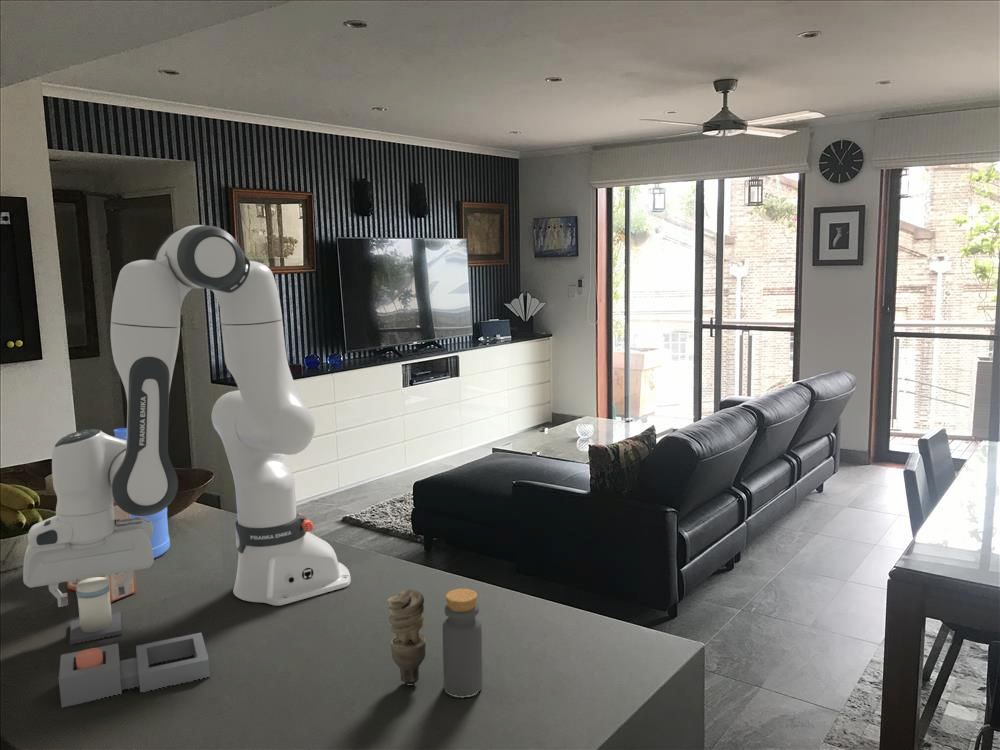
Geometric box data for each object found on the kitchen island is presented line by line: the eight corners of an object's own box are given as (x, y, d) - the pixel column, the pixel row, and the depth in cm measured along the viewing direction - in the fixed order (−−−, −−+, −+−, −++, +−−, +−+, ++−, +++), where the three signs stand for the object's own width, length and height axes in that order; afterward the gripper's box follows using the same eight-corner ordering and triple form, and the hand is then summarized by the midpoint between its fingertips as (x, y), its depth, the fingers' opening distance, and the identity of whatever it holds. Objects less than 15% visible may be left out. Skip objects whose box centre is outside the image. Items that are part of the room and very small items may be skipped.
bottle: (461, 674, 126) (460, 583, 124) (490, 686, 122) (489, 593, 120) (435, 690, 122) (433, 596, 119) (464, 703, 118) (462, 607, 116)
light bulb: (392, 696, 120) (389, 601, 118) (387, 677, 125) (384, 586, 123) (429, 690, 121) (427, 596, 119) (423, 672, 127) (420, 582, 124)
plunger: (105, 676, 125) (102, 646, 124) (105, 687, 122) (102, 656, 121) (79, 681, 124) (76, 651, 123) (78, 693, 121) (75, 662, 120)
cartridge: (112, 616, 145) (108, 574, 144) (113, 628, 140) (109, 585, 139) (80, 622, 143) (76, 580, 142) (79, 635, 138) (75, 591, 137)
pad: (120, 616, 147) (120, 611, 147) (121, 634, 140) (121, 630, 140) (71, 625, 144) (71, 621, 143) (70, 644, 137) (69, 640, 136)
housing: (202, 649, 135) (200, 623, 134) (210, 677, 126) (208, 650, 125) (64, 678, 126) (61, 651, 125) (61, 711, 117) (58, 682, 116)
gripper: (150, 509, 146) (156, 581, 148) (20, 527, 137) (29, 604, 139) (153, 520, 141) (159, 594, 143) (17, 539, 132) (26, 619, 134)
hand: (93, 599), depth 141 cm, fingers open, 8 cm apart
